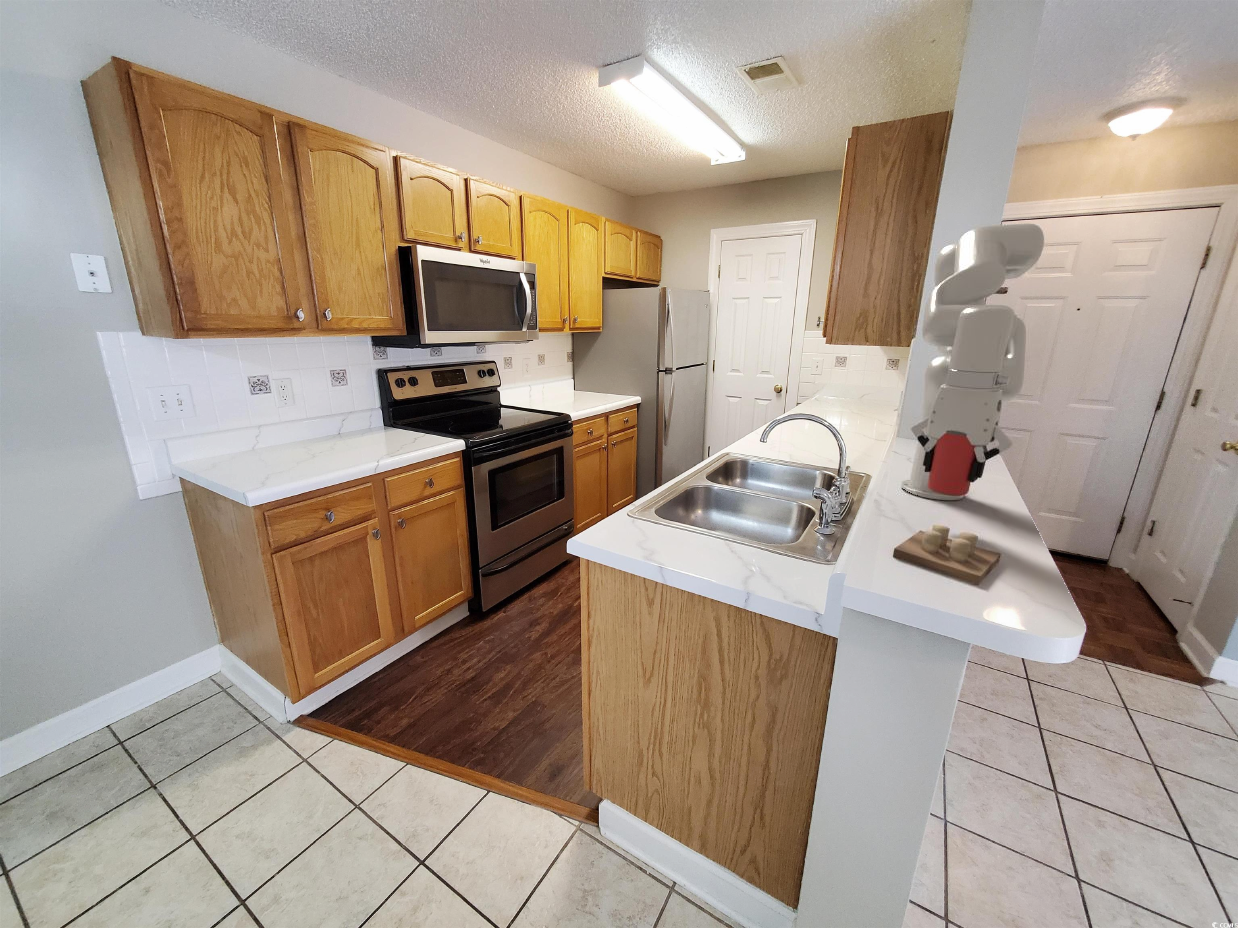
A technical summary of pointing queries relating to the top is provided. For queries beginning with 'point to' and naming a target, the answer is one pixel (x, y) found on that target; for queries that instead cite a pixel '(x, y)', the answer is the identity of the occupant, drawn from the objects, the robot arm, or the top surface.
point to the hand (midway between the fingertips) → (950, 474)
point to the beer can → (951, 465)
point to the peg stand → (948, 554)
